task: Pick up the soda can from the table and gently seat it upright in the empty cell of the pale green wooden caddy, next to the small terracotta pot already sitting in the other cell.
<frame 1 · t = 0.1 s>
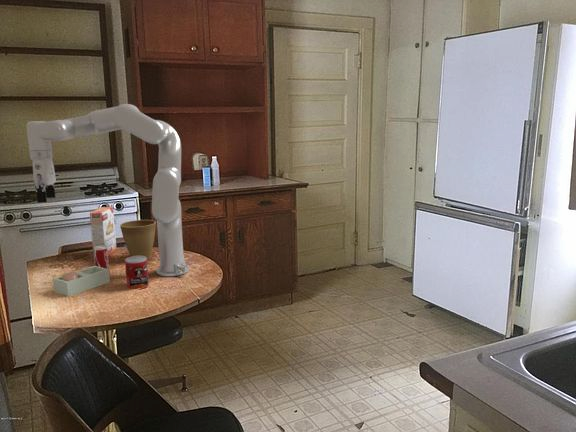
hand: (46, 199, 190), 31 cm above the table, tool pointing down, fingers open, 9 cm apart
soda can: (103, 276, 197), on the table
cracker box: (105, 254, 227), on the table
caddy: (83, 288, 183), on the table
clay pot: (71, 290, 180), point 1 cm above the table, touching caddy
plant pot: (140, 258, 220), on the table
canned food: (138, 287, 185), on the table
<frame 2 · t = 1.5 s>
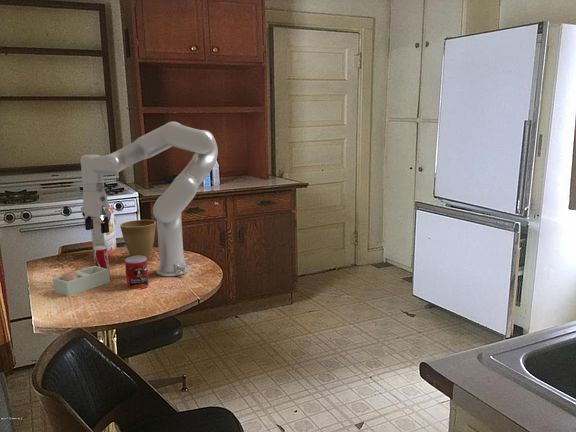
hand: (97, 231, 193), 18 cm above the table, tool pointing down, fingers open, 9 cm apart
nothing on the table moved.
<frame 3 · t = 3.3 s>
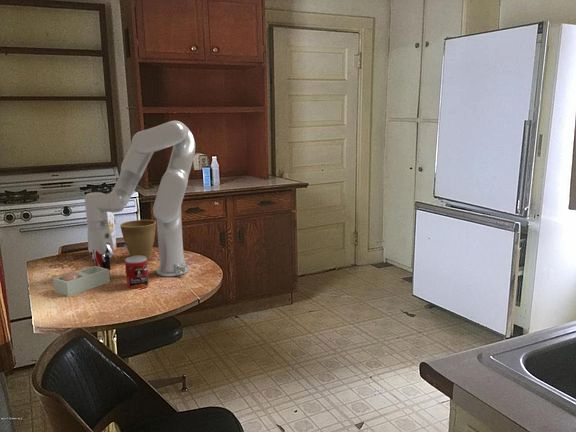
hand: (102, 269, 197), 3 cm above the table, tool pointing down, fingers closed on soda can, 4 cm apart
soda can: (102, 276, 197), on the table, touching gripper
everything else where it was.
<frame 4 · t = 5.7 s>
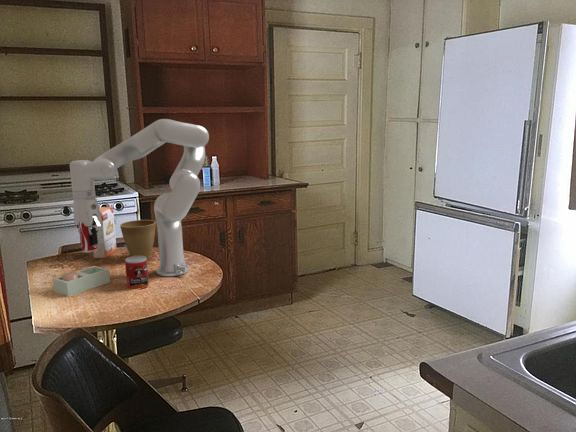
hand: (89, 243, 184), 16 cm above the table, tool pointing down, fingers closed on soda can, 4 cm apart
soda can: (89, 251, 184), point 13 cm above the table, touching gripper
everything else where it was.
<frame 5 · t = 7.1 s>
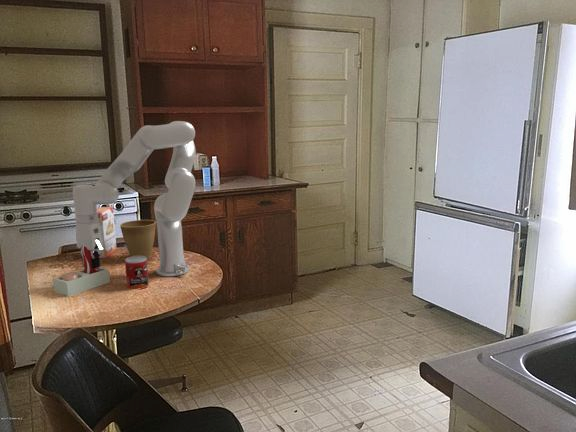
hand: (91, 266, 186), 7 cm above the table, tool pointing down, fingers closed on soda can, 4 cm apart
soda can: (91, 274, 186), point 4 cm above the table, touching gripper
everything else where it was.
when the fingers open (7 cm above the table, at t = 8.1 s): soda can drops 3 cm, resting on caddy.
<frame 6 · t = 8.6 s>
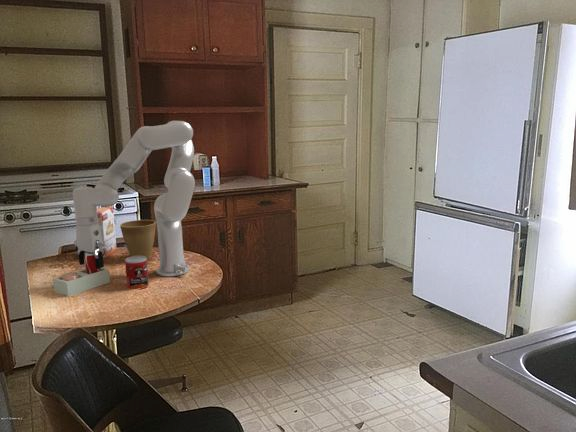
hand: (91, 265, 186), 8 cm above the table, tool pointing down, fingers open, 9 cm apart
soda can: (93, 283, 187), point 1 cm above the table, touching caddy
everything else where it was.
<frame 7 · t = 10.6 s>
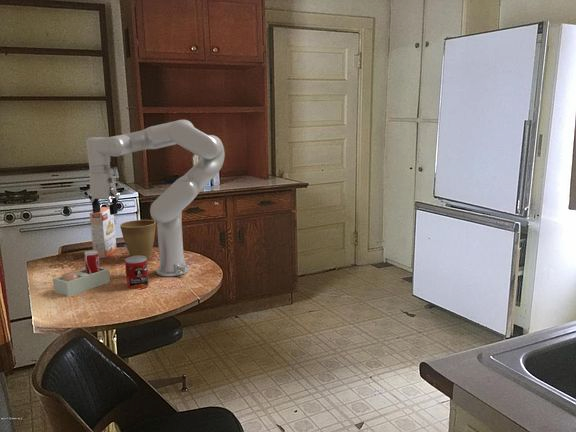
hand: (105, 213, 195), 25 cm above the table, tool pointing down, fingers open, 9 cm apart
nothing on the table moved.
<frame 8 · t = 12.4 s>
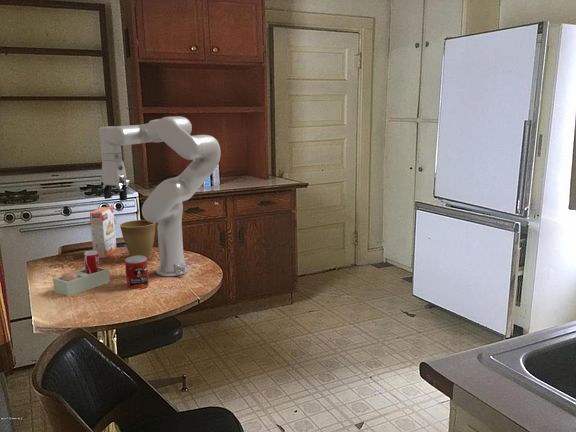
hand: (115, 199, 205), 28 cm above the table, tool pointing down, fingers open, 9 cm apart
nothing on the table moved.
at the end: soda can 0.4 cm from the target spot on the caddy, point 0.6 cm above the caddy's base; soda can tilted 1°; the gripper is holding nothing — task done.
